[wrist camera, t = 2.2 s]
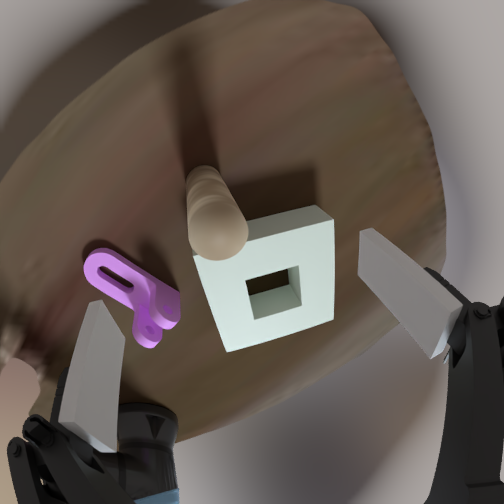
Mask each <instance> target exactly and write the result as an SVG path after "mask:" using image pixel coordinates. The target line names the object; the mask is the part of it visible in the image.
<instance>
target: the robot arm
mask: <svg viewBox="0 0 504 504" xmlns="http://www.w3.org/2000/svg"><path fill="white" fill-rule="evenodd" d="M358 276H359V277H360V278H361V279H362V280H363V281H364V282H365V283H366V284H367V286H368V287H369V288H370V289H371V290H372V291H373V292H374V293H375V294H376V296H377V297H378V298H379V299H380V300H381V301H382V302H383V303H384V305H385V306H386V307H387V308H388V309H389V310H390V311H391V313H392V314H393V315H394V316H395V317H396V318H397V320H398V321H399V322H400V323H401V324H402V325H403V327H404V328H405V329H406V330H407V331H408V333H409V334H410V335H411V336H412V337H413V339H414V340H415V341H416V342H417V343H418V345H419V346H420V347H421V348H422V350H423V351H424V352H425V353H426V355H427V356H428V357H429V358H430V359H432V358H433V357H435V356H436V355H438V354H439V353H441V352H442V351H443V349H444V347H445V345H446V343H448V344H449V345H450V346H451V347H450V349H449V351H448V353H447V355H446V357H445V358H444V362H443V363H446V361H447V359H448V358H449V373H448V392H447V404H446V414H445V422H444V429H443V436H442V442H441V448H440V453H439V458H438V463H437V467H436V472H435V476H434V479H433V483H432V487H431V491H430V494H429V496H428V498H427V500H426V501H425V503H424V504H504V483H503V482H502V481H501V480H500V470H501V462H502V453H503V442H504V297H503V298H502V300H501V303H500V305H497V306H493V307H489V306H488V305H486V304H484V303H481V302H474V303H471V302H470V301H469V300H468V299H467V298H466V297H464V296H463V295H462V294H461V293H460V292H459V291H458V290H457V289H456V288H455V287H453V286H452V285H450V284H449V282H448V281H447V280H444V278H443V277H442V276H441V275H440V274H439V273H437V272H436V271H434V270H432V269H430V268H428V267H425V268H422V267H420V266H419V265H418V264H417V263H416V262H415V261H413V260H412V259H411V258H410V257H409V256H407V255H406V254H405V253H404V252H402V251H401V250H400V249H399V248H397V247H396V246H395V245H394V244H392V243H391V242H390V241H389V240H387V239H386V238H385V237H383V236H382V235H381V234H380V233H378V232H377V231H376V230H374V229H373V228H369V229H365V230H362V231H360V243H359V263H358ZM124 345H125V337H124V335H123V334H122V332H121V331H120V329H119V328H118V326H117V324H116V323H115V321H114V320H113V318H112V316H111V315H110V313H109V311H108V309H107V308H106V306H105V304H104V303H103V301H102V300H98V301H95V302H91V303H89V305H88V308H87V311H86V314H85V317H84V320H83V323H82V326H81V329H80V332H79V336H78V339H77V342H76V346H75V349H74V353H73V356H72V360H71V364H70V367H67V368H65V369H64V370H63V372H62V374H61V375H60V377H59V381H58V385H57V388H58V389H56V394H55V395H56V397H55V398H54V403H53V407H52V413H51V418H50V423H49V422H48V421H47V420H45V419H44V418H43V417H42V416H40V415H38V414H34V415H31V416H30V417H28V418H27V420H26V421H25V423H24V425H23V430H22V433H23V437H24V438H25V439H26V440H28V441H29V442H26V441H24V440H23V439H21V438H19V437H14V438H13V439H12V440H10V442H9V444H8V447H7V456H8V462H9V467H10V472H11V477H12V481H13V485H14V490H15V493H16V497H17V501H18V504H179V488H178V484H177V477H176V471H175V463H174V457H173V446H174V443H175V439H176V436H177V432H178V419H177V416H176V415H175V414H174V413H173V412H171V411H169V410H167V409H165V408H163V407H160V406H156V405H151V404H144V403H129V404H123V405H120V406H118V401H119V389H120V378H121V369H122V360H123V352H124ZM117 440H118V443H119V452H118V451H117ZM40 479H42V480H43V485H42V483H41V480H40Z"/></svg>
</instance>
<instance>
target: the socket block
mask: <svg viewBox="0 0 504 504" xmlns="http://www.w3.org/2000/svg"><path fill="white" fill-rule="evenodd" d="M246 222H247V225H248V238H247V241H246V244H245V245H244V247H243V248H242V249H241V251H240V252H239V253H237V254H236V255H234V256H233V257H231V258H229V259H226V260H220V261H213V260H208V259H205V258H203V257H201V256H199V255H198V254H197V253H196V252H195V251H194V250H193V257H194V260H195V263H196V267H197V270H198V273H199V276H200V279H201V282H202V285H203V288H204V291H205V293H206V296H207V299H208V302H209V305H210V308H211V311H212V313H213V316H214V319H215V322H216V325H217V327H218V330H219V333H220V336H221V338H222V341H223V344H224V346H225V349H226V351H227V352H230V351H234V350H238V349H241V348H245V347H249V346H252V345H256V344H259V343H263V342H266V341H269V340H273V339H276V338H279V337H282V336H285V335H289V334H292V333H295V332H298V331H301V330H304V329H307V328H310V327H313V326H316V325H319V324H322V323H324V322H327V321H330V320H333V317H334V276H335V254H334V219H333V218H331V217H330V216H329V215H328V214H326V213H325V212H324V211H323V210H321V209H320V208H319V207H318V206H316V205H312V206H308V207H303V208H299V209H295V210H291V211H286V212H282V213H278V214H274V215H270V216H266V217H262V218H258V219H254V220H250V221H246ZM192 249H193V248H192ZM287 268H288V276H289V285H285V286H282V287H279V288H275V289H272V290H268V291H265V292H261V293H258V294H254V295H251V296H249V295H248V291H247V286H246V282H245V280H248V279H252V278H255V277H259V276H263V275H266V274H270V273H273V272H277V271H280V270H284V269H287Z"/></svg>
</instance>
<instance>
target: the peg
mask: <svg viewBox="0 0 504 504" xmlns="http://www.w3.org/2000/svg"><path fill="white" fill-rule="evenodd" d="M186 195H187V218H188V236H189V242H190V245H191V247H192V248H193V250H194V251H195V252H196V253H197V254H198V255H199V256H201V257H203V258H205V259H208V260H213V261H220V260H226V259H229V258H231V257H233V256H234V255H236V254H237V253H239V252H240V251H241V249H242V248H243V247H244V245H245V244H246V241H247V238H248V225H247V222H246V220H245V218H244V216H243V214H242V213H241V211H240V209H239V207H238V205H237V204H236V202H235V200H234V198H233V197H232V195H231V193H230V191H229V189H228V188H227V186H226V184H225V182H224V181H223V179H222V177H221V175H220V174H219V172H218V171H217V170H216V169H215V168H214V167H212V166H209V165H200V166H197V167H195V168H194V169H192V170H191V171H190V173H189V174H188V176H187V179H186Z"/></svg>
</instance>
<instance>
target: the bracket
mask: <svg viewBox="0 0 504 504" xmlns="http://www.w3.org/2000/svg"><path fill="white" fill-rule="evenodd" d="M100 266H105V267H107V268H109V269H110V270H112V271H113V272H115V273H117V274H118V275H120V276H121V277H123V278H124V279H126V280H128V281H129V282H131V283H132V284H133V285H134V287H131V288H128V287H126V286H124V285H122V284H121V283H119V282H117V281H116V280H114V279H113V278H111V277H109V276H108V275H106V274H105V273H103V272H102V271H101V270H100V268H99V267H100ZM84 273H85V276H86V278H87V280H88V281H89V282H90V283H91V284H92V285H93V286H94V287H96V288H98V289H99V290H101V291H102V292H104V293H106V294H107V295H109V296H111V297H112V298H114V299H116V300H117V301H119V302H121V303H122V304H124V305H126V306H128V307H129V308H131V309H133V310H134V312H135V314H134V321H133V328H132V333H133V336H134V338H135V339H136V341H137V342H138V343H139V344H141V345H142V346H144V347H147V348H153V347H155V346H156V345H157V343H158V342H159V341H160V340H161V339H162V328H164V329H171V328H173V327H174V326H175V325H176V323H177V322H178V321H179V320H180V317H181V316H180V292H178V291H177V290H175V289H173V288H172V287H170V286H168V285H167V284H165V283H163V282H162V281H160V280H159V279H157V278H155V277H154V276H152V275H151V274H149V273H147V272H146V271H144V270H143V269H141V268H140V267H138V266H136V265H135V264H133V263H132V262H130V261H129V260H127V259H126V258H124V257H123V256H121V255H120V254H118V253H117V252H115V251H113V250H111V249H108V248H98V249H95V250H93V251H92V252H91V253H90V254H89V256H88V257H87V259H86V261H85V264H84Z"/></svg>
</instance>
